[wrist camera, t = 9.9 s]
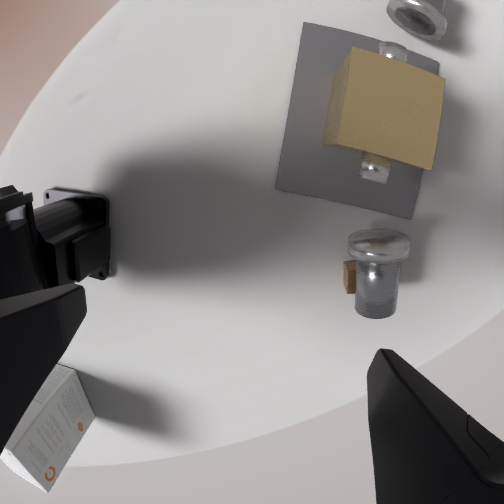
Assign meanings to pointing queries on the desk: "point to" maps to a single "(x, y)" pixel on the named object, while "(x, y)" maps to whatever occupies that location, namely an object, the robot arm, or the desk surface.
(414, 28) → the shaft
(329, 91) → the mat
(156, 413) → the desk surface
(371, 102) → the coupler
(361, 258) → the shaft
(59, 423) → the small box
